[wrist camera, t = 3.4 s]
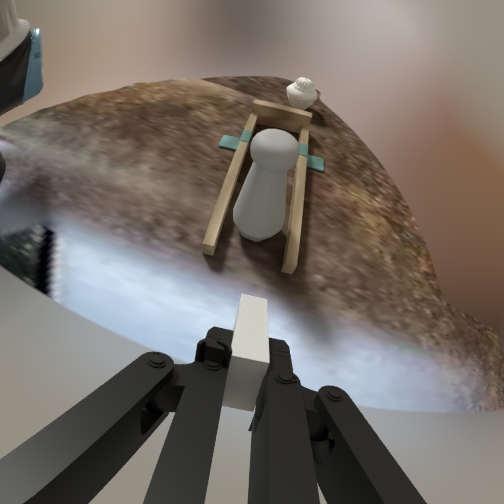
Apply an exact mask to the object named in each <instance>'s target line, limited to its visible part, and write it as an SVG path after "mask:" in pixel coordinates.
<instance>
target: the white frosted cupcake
mask: <svg viewBox="0 0 504 504" xmlns="http://www.w3.org/2000/svg"><path fill="white" fill-rule="evenodd" d="M287 96H288V99H289V102H290V105H291V107H292V108H295V109H299V110H306V109H307V108H308V107H309V106H310V105H311V104H313V103H314V101H315V100H316V99H317V93H316V91H315V90H314V84H313V82H312V81H311V80H310V79H307V78H298V79H297V80H296V82H295V83H293V84H291V85H289V86H288V87H287Z"/></svg>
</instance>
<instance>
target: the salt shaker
mask: <svg viewBox="0 0 504 504" xmlns="http://www.w3.org/2000/svg"><path fill="white" fill-rule="evenodd" d="M250 150H251V157H252V159H253V163H252V166H251V168H250V170H249V173H248V175H247V177H246V180H245V182H244V184H243V187H242V189H241V191H240V194H239V196H238V199H237V201H236V203H235V206H234V208H233V221H234V223H235V225H236V226H237V228H238V230H239V232H240V233H241V235H242V237H244V238H247V239H249V240H252V241H254V242H256V243H257V242H259V241H262V240H265V239H267V238H270V237H272V236H273V235H275V234H276V233H278V232H279V231H280V230H281V228H282V225H283V223H284V220H285V204H286V186H287V170H289V169H291V168H293V167H294V166H295V164H296V162H297V160H298V157H299V155H300V146H299V143H298V141H297V140H296V139H295V138H294V137H293V136H292V135H291V134H289V133H287V132H285V131H283V130H278V129H266V130H263V131H261V132H259V133H257V134H256V135H255V137H254V138H253V140H252V142H251V148H250Z"/></svg>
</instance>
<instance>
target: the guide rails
mask: <svg viewBox="0 0 504 504" xmlns="http://www.w3.org/2000/svg"><path fill="white" fill-rule="evenodd" d="M311 119H312V113H310V112H307V111H303V110H299V109H295V108H291V107H287V106H283V105H279V104H275V103H270V102H266V101H261V100H256V99H255V100H254V102H253V106H252V112H251V115H250V117H249V120H248V122H247V125H246V127H245V130H244V131H243V133H242V136H241V138H237V137H232V136H227V135H224V136H223V138H222V140H221V142H220V144H219V147H221V148H227V149H232V150H236V152H235V155H234V158H233V160H232V163H231V165H230V168H229V171H228V173H227V176H226V179H225V181H224V184H223V187H222V189H221V192H220V195H219V198H218V201H217V203H216V206H215V209H214V212H213V215H212V217H211V220H210V223H209V226H208V229H207V232H206V235H205V238H204V241H203V254H207V255H212V256H213V255H214V252H215V249H216V245H217V242H218V239H219V236H220V232H221V229H222V226H223V223H224V219H225V216H226V213H227V210H228V207H229V204H230V201H231V197H232V194H233V191H234V188H235V185H236V182H237V179H238V176H239V173H240V170H241V167H242V164H243V161H244V158H245V155H246V153H247V150H248V147H249V145H250V141H251V138H252V135H253V132H254V129H255V126H256V124H261V125H265V126H270V127H274V128H278V129H282V130H286V131H290V132H294V133H298V134H299V140H298V143H299V146H300V155H299V157H298V160H297V162H296V167H295V175H294V184H293V192H292V200H291V207H290V215H289V222H288V230H287V237H286V244H285V251H284V258H283V265H282V272H284V273H289V274H292V273H293V272H294V270H295V268H296V266H297V261H298V253H299V243H300V234H301V224H302V213H303V202H304V190H305V178H306V167H307V168H311V169H314V170H318V171H321V172H323V171H324V159H322V158H319V157H315V156H312V155H308V133H309V125H310V122H311Z"/></svg>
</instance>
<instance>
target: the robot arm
mask: <svg viewBox="0 0 504 504" xmlns="http://www.w3.org/2000/svg"><path fill="white" fill-rule="evenodd" d="M42 65H43V64H42V42H41V29H39V28H38V29H33V30H32V31H31V29H30V25H29V23H28V21H26V20H20V19H18V18H17V12H16V7H15V1H14V0H0V116H1V115H2V114H4V113H6V112H8V111H10V110H11V109H13V108H15V107H17V106H19V105H22V104H24V103H25V101H27V100H29V99H31V98H32V97H34V96H36V95H37V94H39V93H40V91H41V90H42V88H43V84H44V83H43V66H42ZM4 170H5V160H4V158H3V156H2V154H1V152H0V180H1V178H2V176H3V173H4ZM255 405H256V408H255V414H254V417H253V420H252V423H251V425H250V428H249V430H248V431H251V430H252V437H251V455H250V456H251V457H250V472H249V490H248V504H320V500H319V494H318V486H317V483H318V485H319V487H320V489H321V491H322V493H323V496H324V497H325V500H326V502H327V504H427V503H426V502H425V501H424V499H423V498H422V497H421V495H420V494H419V492H418V491H417V489H416V488H415V487H414V485H413V484H412V483H411V481H410V480H409V478H408V477H407V476H406V474H405V473H404V472H403V470H402V469H401V467H400V466H399V465H398V463H397V462H396V461H395V459H394V458H393V456H392V455H391V454H390V452H389V451H388V449H387V448H386V447H385V445H384V444H383V443H382V441H381V440H380V439H379V437H378V436H377V434H376V433H375V432H374V430H373V429H372V427H371V426H370V425H369V424H368V422H367V420H366V419H365V418H364V416H363V415H362V413H361V412H360V411H359V409H358V408H357V406H356V405H355V404H354V402H353V401H352V399H351V398H350V397H349V395H348V394H347V393H346V392H345V391H344V390H342V389H340V388H338V387H335V386H328V385H327V386H323V387H321V388H320V389H319V391H318V392H316V391H313V390H310V389H308V388H305V387H303V386H302V385H301V383H300V380H299V378H298V377H297V376H296V375H295V374H294V373H293V368H292V361H291V355H290V349H289V346H288V345H287V343H286V342H285V341H284V340H279V339H273V338H269V336H268V313H267V299H264V298H259V297H254V296H250V295H246V294H242V295H241V299H240V303H239V308H238V312H237V316H236V321H235V325H234V329H233V331H232V330H227V329H223V328H219V327H215V326H214V327H213V328H211V329H210V330H208V333H207V335H206V338H205V339H203V340H200V341H199V342H198V344H197V350H196V356H195V361H194V362H193V363H190V364H174V361H173V360H172V358H171V357H169V356H168V355H166V354H164V353H161V352H147V353H145V354H143V355H141V356H140V357H138V358H137V359H136V360H135V361H133V362H132V363H131V364H129V365H128V366H127V367H125V368H124V369H123V370H121V371H120V372H119V373H117V374H116V375H115V376H113V377H112V378H111V379H109V380H108V381H107V382H106V383H104V384H103V385H101V386H100V387H99V388H98V389H96V390H95V391H93V392H92V393H91V394H89V395H88V396H87V397H85V398H84V399H83V400H81V401H80V402H79V403H77V404H76V405H75V406H73V407H72V408H71V409H69V410H68V411H66V412H65V413H64V414H62V415H61V416H60V417H58V418H57V419H56V420H54V421H53V422H52V423H50V424H49V425H47V426H46V427H45V428H43V429H42V430H41V431H39V432H38V433H36V434H35V435H34V436H33V437H31V438H30V439H28V440H27V441H25V442H24V443H22V444H21V445H20V446H18V447H17V448H16V449H14V450H13V451H12V452H10V453H8V454H7V455H6V456H4V457H3V458H1V459H0V504H88V503H89V502H90V501H91V500H92V499H93V498H94V497H95V496H96V495H97V494H98V493H99V492H100V491H101V490H102V489H103V487H104V486H105V485H106V484H107V483H108V482H109V481H110V480H111V479H112V478H113V477H114V476H115V475H116V474H117V472H118V471H119V470H120V469H121V468H122V467H123V466H124V465H125V464H126V463H127V461H128V460H129V459H130V458H131V457H132V456H133V455H134V454H135V453H136V451H137V450H138V449H139V448H140V447H141V446H142V445H143V444H144V442H145V441H146V440H147V439H148V438H149V437H150V435H151V434H152V433H153V432H154V431H155V430H156V429H157V427H158V426H159V425H160V424H161V423H162V422H163V420H164V419H165V418H166V417H167V416H168V414H169V412H175V415H174V418H173V421H172V423H171V426H170V429H169V431H168V434H167V437H166V440H165V443H164V445H163V448H162V451H161V454H160V456H159V459H158V462H157V465H156V468H155V470H154V473H153V476H152V479H151V482H150V485H149V488H148V490H147V493H146V496H145V499H144V502H143V504H204V502H205V496H206V491H207V485H208V480H209V474H210V468H211V463H212V457H213V452H214V446H215V441H216V435H217V429H218V424H219V418H220V412H221V407H222V406H226V407H231V408H237V409H242V410H247V411H253V410H254V407H255Z"/></svg>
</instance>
